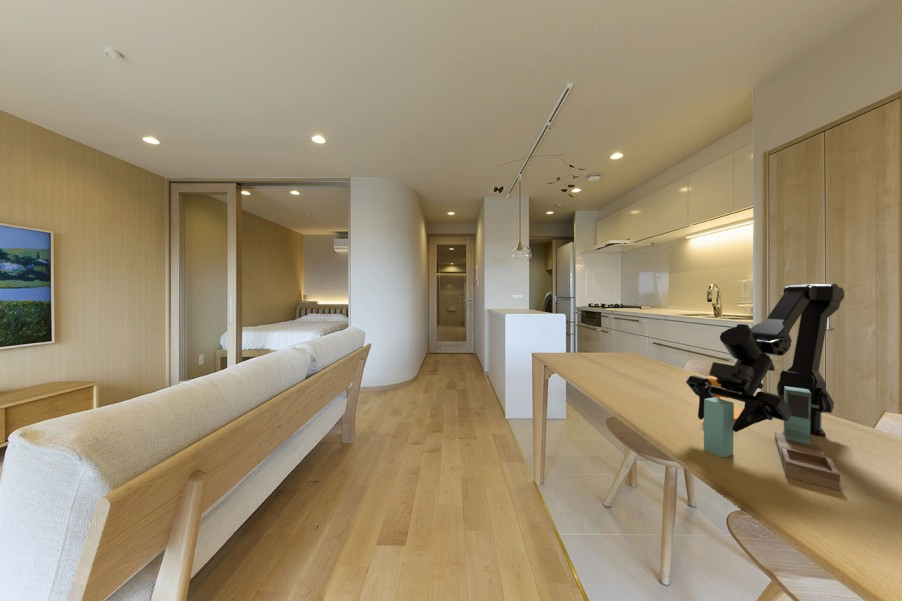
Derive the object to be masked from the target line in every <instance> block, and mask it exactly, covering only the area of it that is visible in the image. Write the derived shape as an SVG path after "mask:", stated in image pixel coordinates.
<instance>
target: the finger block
mask: <svg viewBox="0 0 902 601" xmlns="http://www.w3.org/2000/svg"><path fill="white" fill-rule="evenodd" d="M734 407H735V403H734V402H732V401H728V400H725V399H722V398H720V399H719V398H715V397H713V398H708V399H704V418H703V450H705V451H707V452H709V453H711V454H714V455H716V456H717V457H721V458H726V456H727V457H730V456H734V431H733V430H732V428H733V425H734Z"/></svg>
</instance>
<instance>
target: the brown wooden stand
mask: <svg viewBox="0 0 902 601" xmlns="http://www.w3.org/2000/svg"><path fill="white" fill-rule="evenodd" d="M784 401H785V402H786V404H787V405H788V407H789V408H790V410H791V416H790V418H789V420H788V421H783V433H782V432H777V431H775V432H774V440H775V443H776V447H777V451H778V453H779V454H778V455H779V457H780V462H781V464H782V466H781V467H782V469H783V472H784V476H785V477H786V478H789V479H793V478H794V479H793V480H797V479H799V480H798V481H801V480H803V481H802V482H805V481H807V482H806V483H809V482H811V483H810V484H812V485H817V486H820V485H821V487H824V486H825V488H828V487H829V488H828V489H832V490H837V491H840V489H841V488H840V487H841V486H840V484H841V473H840V472H839V471H838V468H837V467H836V465H835V463H834V462H833V459H831V457H829V456H826V455H825V453H824V451H823V449H822V448H821V446H820V444H819V442H818V440H816V439H812V438H811V433H810V422H811V392H810V391H809V390H808V389H801V388H794V387H786V386H784Z"/></svg>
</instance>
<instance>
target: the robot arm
mask: <svg viewBox="0 0 902 601" xmlns="http://www.w3.org/2000/svg"><path fill="white" fill-rule="evenodd" d="M844 298H845V290H844V289H843V287H840V286H839V285H838V284H837V283H802V284H790V285H787V286H785V287H784V289H783V294H782V295H781V297H780V298H779V300H778V301H777V302H776V305H775V306H774V307H773V309H772V310H771V312H770V313H769V315H768V316H767V317H766V318H765V320H763V321H762V322H759V323H757V324H755V325H753V326H752V327H750V326H749V325H748V324H744V323H743V324H742V323H737V325H736V326H734V327H730V328H729V329H726V330H724V331H722V332H721V333H720V336H719V340H720V342H721V344H723V346H724V347H725V349H726V350H727V352H728V353H729V355H730V356H731V357H732V358H734V359H735V360H736V361H735V362H734V365H732V364H726V363H720V362H715V361H713V362H712V363H711V366H710V370H709V373H708V374H709V375H708V376H712V377H716V378H717V380H716V381H717V383H718V384H721V387H717V386H713V385H712V384H711V382H710V381H709V380H708V379H707V377H703V376H697V375H694V374H693V375H690V376H689V377H688V378H687V380H686V381H685V383H686V384H687V386H688V387H689V388H690V389H691V391H692V392H693V393H694V394H695V395H696V396H698V399H699V400H698V401H699V403H698V413H697V418H698V419H699V420H701V421H702V420H704V399H708V398H713V397H714V396H715V395H716V394H717V395H720V396H724V397H723V398H725V397H728V398H727V399H731V400H734V401H740V402H743V403H744V407H743V409H742V410H743V411H742V412H741V414H740V415H739V417H738V418H737V420H736V421H735V423H734V425H733V428H732V430H733V433H738V432H739V431H741V430H744V429H745V428H748V427H750V426H752V425H754V424H757V423H760V422H763V421H767V420H769V421H772V420H773V419H776V420H780V421H783V422H784V421H788V420H789V418H790V416H791V410H790V408H789V407H788V405H787V404H786V402H785V401H784V386H786V387H794V388H801V389H808V390H809V391H810V392H811V422H810V435H811V434H813V435H817V436H823V437H825V436H827V434H826V433H825V431H824V429H823V428H822V416H823V415H822V414H823V413H824V414H825V413H831V414H832V413H833V410H834V408H835V407H834V406H835V405H834V404H835V402H834V400H833V398H832V397H831V395H830V394H829V392H828V391H827V382H826V381H825V379H824V377H823V376H822V375H821V373H820V365H821V359H822V353H823V350H824V349H823V348H824V343H825V342H824V341H825V336H826V332H827V324H828V319H829V318H830V316H832V315H834V314H835V312H838V310H839V309H840V306H841V302H842V301H843V300H844ZM798 319H800V320H799V325H798V331H797V336H796V342H795V348H794V353H793V358H792V359H793V360H792V365H791V366H790V367H789V368H788V369H787V370H782V371H780V375H779V381H778V382H777V384H776V385H777V386H776V389H777V394H775V393H770V392H765V391H763V390H762V389H763V387H764V384H763V383H762V382H763V380H764V379H765V376H766V375H767V373H768V371H771V372H774V371H775V370H776V368H775V365H774V362H773V360H772V358H771V357H770V356H777V357H778V356H779V357H780V356H782V357H783V356H784V355H786V353H787V352H789V350H790V349H791V347H792V342H793V341H792V337H791V335H790V332H791V330H792V328H793V327H794V326H795V323H796V322H797V321H798ZM769 355H770V356H769ZM758 389H759V390H762V391H757V390H758ZM755 393H756V394H755Z"/></svg>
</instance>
